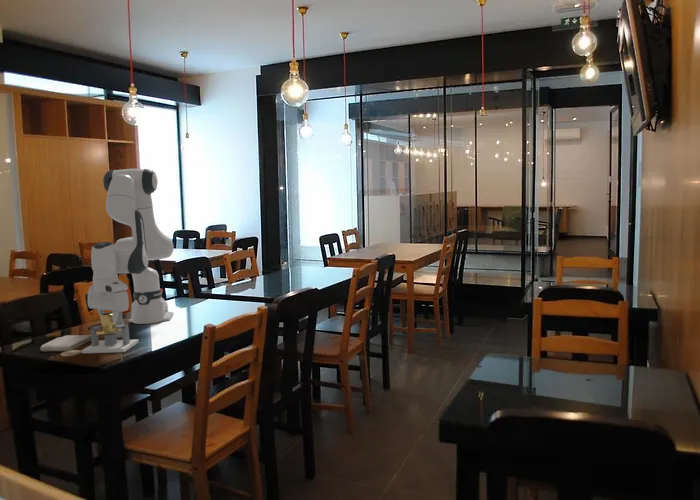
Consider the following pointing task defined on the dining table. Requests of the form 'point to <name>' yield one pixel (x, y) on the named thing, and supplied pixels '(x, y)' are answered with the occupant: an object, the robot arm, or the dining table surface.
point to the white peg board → (110, 341)
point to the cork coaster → (71, 353)
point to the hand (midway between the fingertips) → (109, 321)
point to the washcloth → (65, 343)
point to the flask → (119, 322)
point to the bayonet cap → (107, 324)
